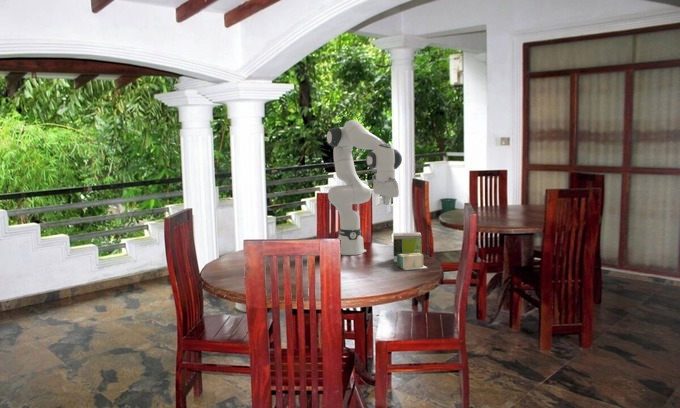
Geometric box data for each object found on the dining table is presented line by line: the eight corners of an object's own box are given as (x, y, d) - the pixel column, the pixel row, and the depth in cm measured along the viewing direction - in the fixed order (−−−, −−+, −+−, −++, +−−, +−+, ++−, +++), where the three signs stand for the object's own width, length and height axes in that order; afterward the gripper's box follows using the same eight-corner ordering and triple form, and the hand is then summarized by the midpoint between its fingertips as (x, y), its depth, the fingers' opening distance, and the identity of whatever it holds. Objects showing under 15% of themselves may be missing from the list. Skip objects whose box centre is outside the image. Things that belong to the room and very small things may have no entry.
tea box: (421, 258, 322) (421, 231, 320) (421, 263, 312) (422, 235, 310) (393, 258, 323) (393, 231, 321) (393, 262, 313) (393, 235, 311)
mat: (397, 265, 307) (397, 264, 307) (419, 263, 310) (419, 262, 310) (405, 270, 297) (405, 269, 297) (427, 268, 300) (427, 267, 300)
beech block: (397, 254, 304) (418, 252, 307) (397, 265, 305) (418, 264, 308) (401, 256, 298) (423, 255, 301) (401, 268, 299) (423, 266, 302)
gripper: (401, 178, 286) (401, 206, 288) (381, 175, 305) (382, 201, 306) (390, 178, 283) (390, 207, 285) (370, 175, 302) (371, 202, 304)
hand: (385, 204), depth 296 cm, fingers closed
